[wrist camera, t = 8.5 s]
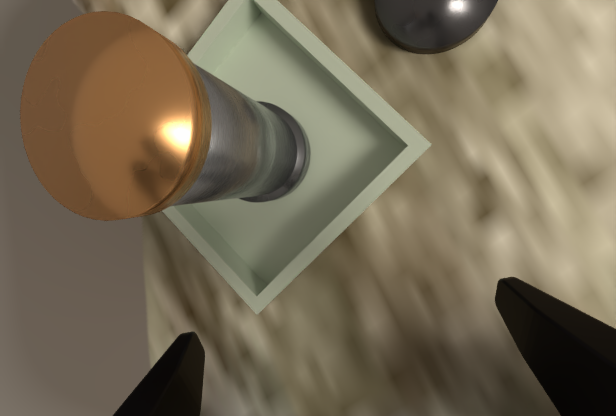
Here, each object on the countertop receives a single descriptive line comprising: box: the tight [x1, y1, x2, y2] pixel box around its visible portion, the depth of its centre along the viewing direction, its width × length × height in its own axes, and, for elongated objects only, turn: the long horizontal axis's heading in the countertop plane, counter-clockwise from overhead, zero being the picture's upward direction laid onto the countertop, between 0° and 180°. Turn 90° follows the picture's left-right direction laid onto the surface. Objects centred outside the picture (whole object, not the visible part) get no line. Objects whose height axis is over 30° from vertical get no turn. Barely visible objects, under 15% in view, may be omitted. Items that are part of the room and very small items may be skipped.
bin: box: [162, 0, 432, 315], centre depth 20 cm, size 14×14×2 cm
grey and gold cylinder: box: [20, 11, 311, 221], centre depth 15 cm, size 6×6×12 cm
